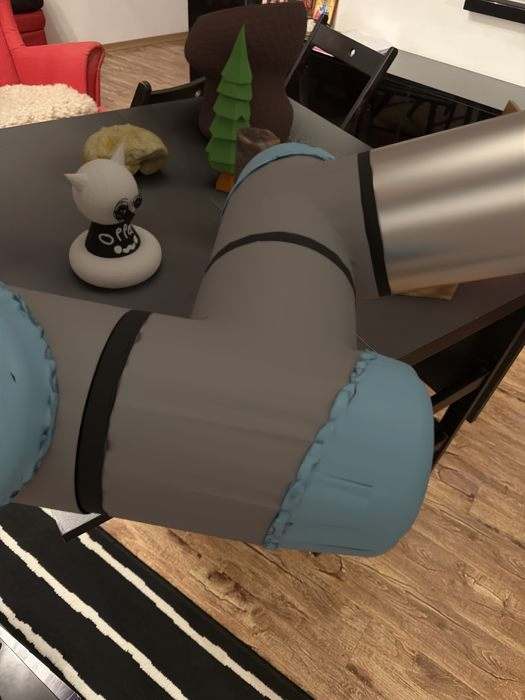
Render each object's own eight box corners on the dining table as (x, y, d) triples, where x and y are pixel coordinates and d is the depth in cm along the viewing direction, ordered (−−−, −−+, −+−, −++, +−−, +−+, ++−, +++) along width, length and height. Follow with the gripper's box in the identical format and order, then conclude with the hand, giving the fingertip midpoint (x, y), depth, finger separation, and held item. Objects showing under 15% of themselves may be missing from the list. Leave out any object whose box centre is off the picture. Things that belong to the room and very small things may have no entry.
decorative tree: (257, 189, 104) (274, 27, 82) (225, 202, 99) (233, 33, 77) (227, 171, 108) (236, 13, 86) (195, 182, 103) (195, 17, 81)
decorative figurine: (108, 307, 74) (87, 187, 59) (53, 264, 80) (22, 145, 65) (180, 268, 82) (177, 154, 68) (125, 231, 88) (112, 119, 74)
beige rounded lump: (107, 166, 109) (69, 181, 97) (106, 114, 103) (65, 123, 91) (176, 182, 107) (147, 199, 95) (179, 130, 101) (148, 142, 89)
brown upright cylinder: (231, 227, 93) (238, 121, 78) (269, 231, 93) (282, 126, 78) (228, 250, 87) (234, 141, 73) (268, 254, 88) (282, 146, 73)
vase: (299, 121, 132) (319, -13, 110) (279, 163, 113) (299, 11, 92) (205, 102, 134) (207, -32, 112) (171, 140, 116) (165, -12, 94)
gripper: (-149, 407, 27) (26, 378, 48) (289, 463, 28) (271, 411, 49) (-132, 275, 27) (35, 305, 48) (307, 335, 28) (281, 338, 49)
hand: (154, 358), depth 49 cm, fingers open, 13 cm apart
